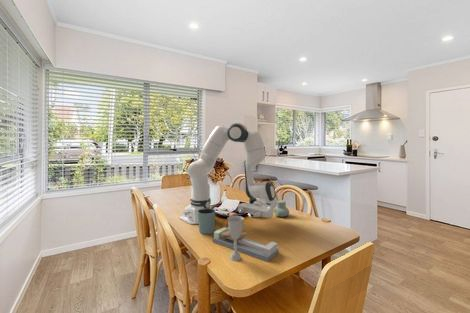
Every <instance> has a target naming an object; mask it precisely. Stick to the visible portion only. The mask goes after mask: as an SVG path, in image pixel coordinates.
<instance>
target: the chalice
mask: <svg viewBox="0 0 470 313" xmlns="http://www.w3.org/2000/svg"><path fill="white" fill-rule="evenodd" d="M226 219H227V221H228V222H227V223H228V224H227V225H228V227H227V228H228V229H229V232H230V235H231V237H232V238H233V239H234V249H233V251H232V252H231V254H230V256H229V259H230V261H235V262H237V261H240V260H242V257H241V253H240V252H239V251H237V248H238V247H237V239H238V238H239V237H240V235H241V232H243V226H244V225H243V224H244V223H243V221H244V220H245V218H244V217H243V216H241V215H237V216H230V217H229V216H228V217H227V218H226Z"/></svg>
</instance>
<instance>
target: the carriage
mask: <svg viewBox="0 0 470 313" xmlns="http://www.w3.org/2000/svg"><path fill="white" fill-rule="evenodd" d="M230 216H238V213H237V212H229V215H228V217H230ZM221 237H224V238H227V239H230V240H233V241H234V239H233V238H232V237H231V235H230V232H229V229H228V230H226V231H224V232H222V233H221ZM246 237H247V233H246V232H243V231H242V232H241V235H240V237H239V238H238V239H237V241H239V240H240V239H242V238H246Z"/></svg>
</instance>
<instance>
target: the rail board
mask: <svg viewBox="0 0 470 313" xmlns="http://www.w3.org/2000/svg"><path fill="white" fill-rule="evenodd" d="M226 230H228V227H225V226H223V227H222V228H219V229H217V230H214V232H213V237H212V243H214V244H218V245H220V246H223V247H225V248H228V249H231V250H234V241H233V240H230V239H227V238H224V237H221V233H222V232H224V231H226ZM237 247H238V248H237V252H239V253H243V254H245V255H248V256H251V257H254V258H256V259H259V260H261V261H264V262H267V263H268V262H270V261H271V260H272V259H273V258H274V257H276V255H278V254H279V248H278V242H275V241H270V242H269V243H268V244H265V243H262V242H258V241H256V240H252V239H249V238H246V237H244V238H242V239H240V240H239V241H237Z"/></svg>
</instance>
